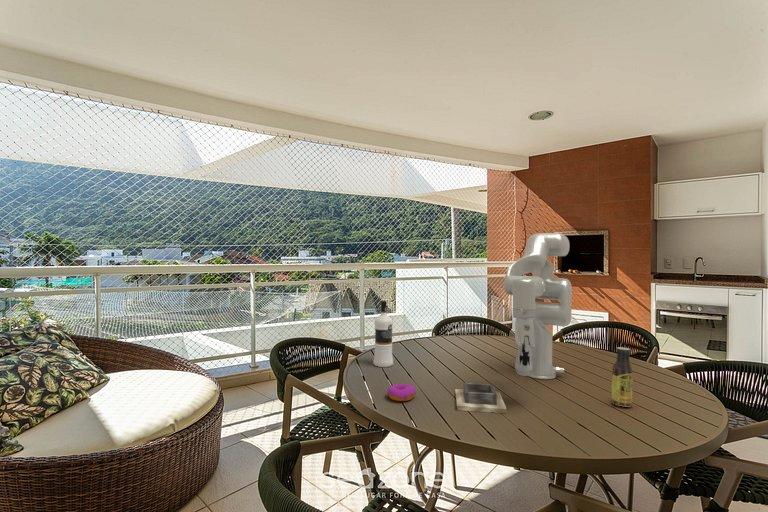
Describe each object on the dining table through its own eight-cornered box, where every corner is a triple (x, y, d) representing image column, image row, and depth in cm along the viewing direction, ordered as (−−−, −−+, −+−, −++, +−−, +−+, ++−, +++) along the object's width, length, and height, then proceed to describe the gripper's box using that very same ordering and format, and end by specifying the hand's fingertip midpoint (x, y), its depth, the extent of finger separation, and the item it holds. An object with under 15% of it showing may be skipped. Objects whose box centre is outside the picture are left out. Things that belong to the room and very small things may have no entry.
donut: (405, 391, 147) (405, 379, 147) (421, 400, 138) (421, 387, 138) (382, 396, 142) (382, 384, 142) (397, 406, 133) (397, 392, 133)
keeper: (499, 395, 143) (499, 382, 143) (506, 413, 127) (506, 398, 127) (455, 393, 145) (455, 379, 145) (457, 410, 129) (457, 395, 129)
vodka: (383, 360, 187) (384, 299, 187) (397, 365, 180) (397, 300, 180) (369, 364, 181) (369, 300, 180) (383, 369, 174) (383, 302, 174)
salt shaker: (518, 370, 141) (518, 334, 140) (534, 373, 137) (534, 337, 136) (512, 374, 136) (512, 337, 136) (528, 378, 132) (528, 340, 132)
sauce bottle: (621, 409, 131) (622, 351, 131) (606, 402, 137) (607, 346, 137) (637, 407, 133) (638, 350, 132) (621, 401, 139) (622, 345, 139)
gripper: (540, 318, 127) (540, 373, 128) (529, 309, 143) (529, 358, 144) (517, 317, 128) (516, 372, 129) (508, 309, 144) (508, 358, 145)
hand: (523, 364), depth 136 cm, fingers closed on salt shaker, 3 cm apart
